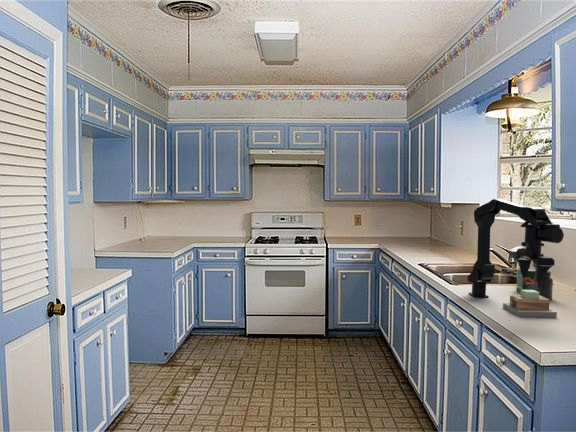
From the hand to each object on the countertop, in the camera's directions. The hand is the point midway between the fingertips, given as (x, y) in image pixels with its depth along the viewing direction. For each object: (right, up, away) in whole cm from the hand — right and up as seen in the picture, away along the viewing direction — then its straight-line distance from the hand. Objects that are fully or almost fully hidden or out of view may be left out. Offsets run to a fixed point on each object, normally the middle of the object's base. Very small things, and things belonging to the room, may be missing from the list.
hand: (530, 280), depth 164 cm
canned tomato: (+17, -11, +34) cm, 40 cm away
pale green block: (0, -7, +1) cm, 7 cm away
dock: (0, -13, +1) cm, 13 cm away
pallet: (0, -11, +1) cm, 11 cm away
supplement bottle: (+19, -12, +24) cm, 33 cm away
